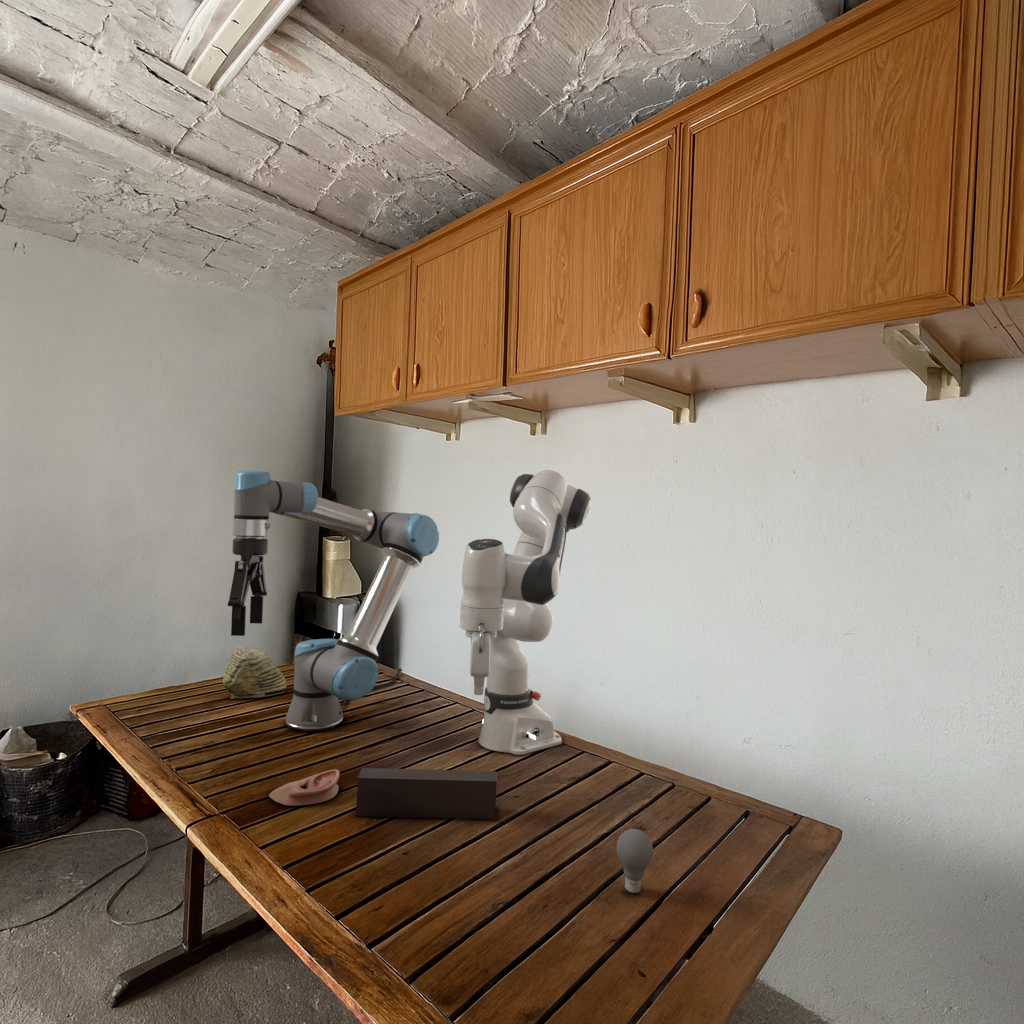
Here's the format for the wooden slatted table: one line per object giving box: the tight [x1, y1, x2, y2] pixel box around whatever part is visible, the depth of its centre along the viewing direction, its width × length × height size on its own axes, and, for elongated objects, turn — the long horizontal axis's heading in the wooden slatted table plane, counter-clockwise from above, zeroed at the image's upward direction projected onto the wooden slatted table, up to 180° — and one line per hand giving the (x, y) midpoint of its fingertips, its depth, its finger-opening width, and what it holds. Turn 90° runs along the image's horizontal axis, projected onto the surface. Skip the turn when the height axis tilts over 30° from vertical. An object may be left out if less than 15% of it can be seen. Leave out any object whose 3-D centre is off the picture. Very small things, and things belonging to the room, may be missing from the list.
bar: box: [355, 767, 498, 820], centre depth 129 cm, size 28×5×8 cm, turn 92°
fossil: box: [222, 646, 288, 699], centre depth 198 cm, size 9×18×15 cm, turn 132°
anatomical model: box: [268, 768, 340, 807], centre depth 134 cm, size 13×4×12 cm
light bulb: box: [615, 828, 654, 894], centre depth 106 cm, size 6×6×10 cm
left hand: (247, 629), depth 146 cm, fingers open, 13 cm apart
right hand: (478, 686), depth 129 cm, fingers open, 8 cm apart
